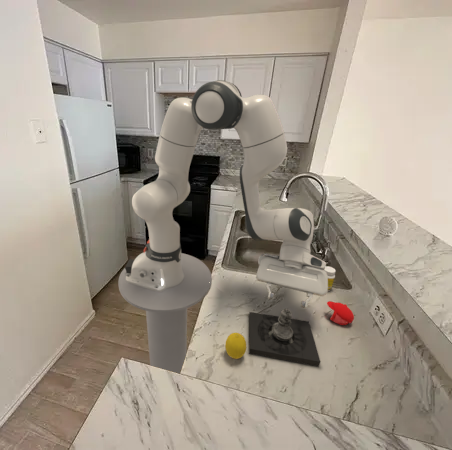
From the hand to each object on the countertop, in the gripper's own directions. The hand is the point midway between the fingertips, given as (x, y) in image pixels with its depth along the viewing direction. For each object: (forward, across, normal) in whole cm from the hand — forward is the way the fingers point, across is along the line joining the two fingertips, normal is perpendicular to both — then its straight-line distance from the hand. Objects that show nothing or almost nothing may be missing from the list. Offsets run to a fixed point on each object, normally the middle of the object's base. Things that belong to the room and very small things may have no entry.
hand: (286, 303), depth 76 cm
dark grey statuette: (+10, 0, +2) cm, 11 cm away
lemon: (+18, -11, -5) cm, 22 cm away
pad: (+10, 0, +2) cm, 11 cm away
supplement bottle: (-11, +14, +24) cm, 30 cm away
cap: (0, +17, +13) cm, 21 cm away
